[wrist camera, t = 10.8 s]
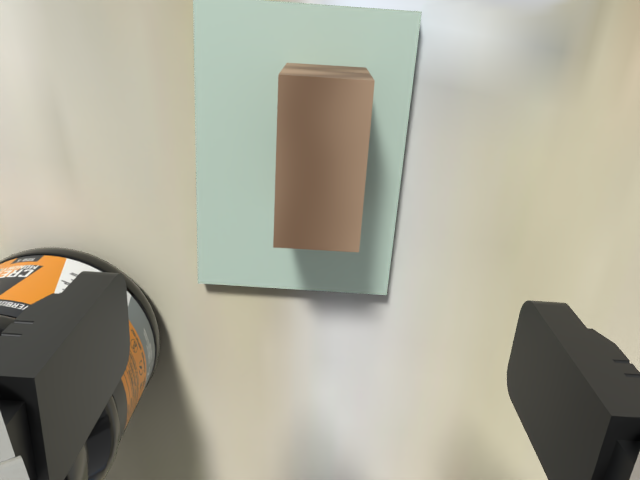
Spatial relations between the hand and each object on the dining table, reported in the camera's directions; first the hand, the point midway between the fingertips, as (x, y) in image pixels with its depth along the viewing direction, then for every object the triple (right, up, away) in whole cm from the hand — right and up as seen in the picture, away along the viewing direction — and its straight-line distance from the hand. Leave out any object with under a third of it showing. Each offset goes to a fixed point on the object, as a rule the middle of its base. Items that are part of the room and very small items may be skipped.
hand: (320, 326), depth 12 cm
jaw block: (0, +6, +16) cm, 17 cm away
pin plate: (-1, +6, +17) cm, 18 cm away
